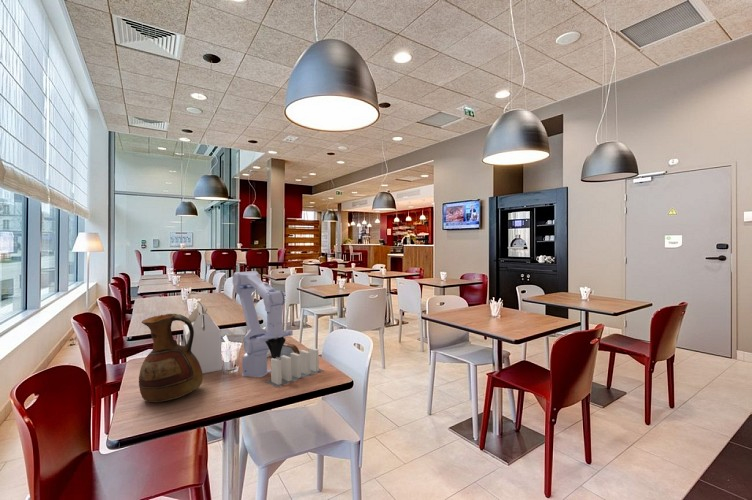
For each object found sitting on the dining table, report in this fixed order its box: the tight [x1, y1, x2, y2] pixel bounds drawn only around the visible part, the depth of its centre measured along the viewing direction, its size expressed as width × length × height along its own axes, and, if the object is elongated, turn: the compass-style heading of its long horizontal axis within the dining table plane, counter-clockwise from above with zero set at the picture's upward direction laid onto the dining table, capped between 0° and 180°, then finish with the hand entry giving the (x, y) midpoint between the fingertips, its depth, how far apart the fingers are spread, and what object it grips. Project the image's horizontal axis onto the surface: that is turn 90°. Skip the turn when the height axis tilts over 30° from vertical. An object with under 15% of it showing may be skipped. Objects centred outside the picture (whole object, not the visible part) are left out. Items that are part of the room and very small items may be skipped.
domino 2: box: [281, 355, 292, 381], centre depth 143 cm, size 2×5×9 cm, turn 47°
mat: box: [265, 368, 325, 388], centre depth 147 cm, size 23×8×1 cm, turn 137°
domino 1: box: [270, 357, 282, 385], centre depth 140 cm, size 2×5×9 cm, turn 47°
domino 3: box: [290, 352, 301, 378], centre depth 147 cm, size 2×5×9 cm, turn 47°
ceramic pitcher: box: [138, 313, 204, 403], centre depth 131 cm, size 20×20×30 cm
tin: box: [276, 342, 300, 360], centre depth 167 cm, size 15×3×8 cm, turn 58°
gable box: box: [182, 301, 223, 375], centre depth 163 cm, size 22×13×28 cm, turn 31°
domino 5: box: [307, 347, 320, 372], centre depth 153 cm, size 2×5×9 cm, turn 47°
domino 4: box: [299, 349, 310, 375], centre depth 150 cm, size 2×5×9 cm, turn 47°
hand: (275, 357), depth 140 cm, fingers closed
